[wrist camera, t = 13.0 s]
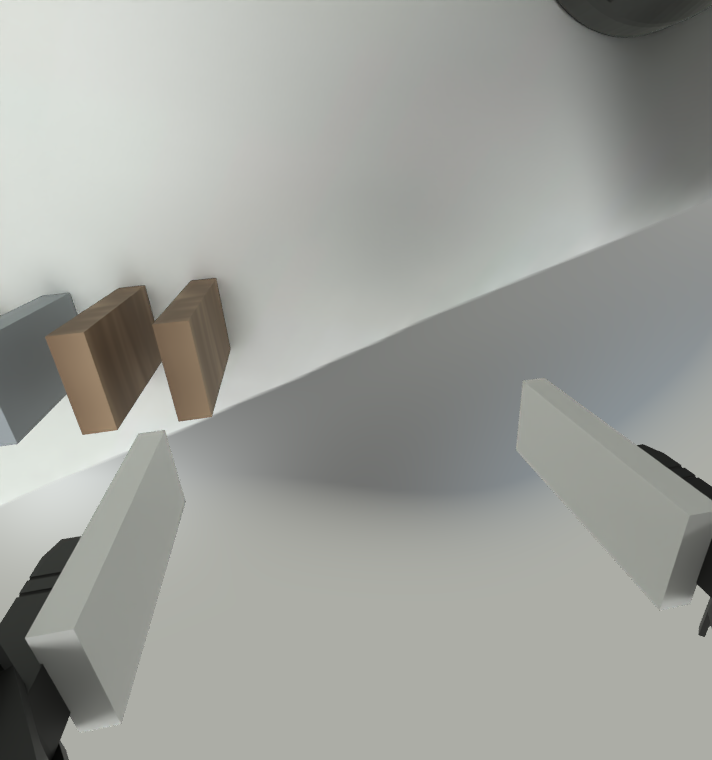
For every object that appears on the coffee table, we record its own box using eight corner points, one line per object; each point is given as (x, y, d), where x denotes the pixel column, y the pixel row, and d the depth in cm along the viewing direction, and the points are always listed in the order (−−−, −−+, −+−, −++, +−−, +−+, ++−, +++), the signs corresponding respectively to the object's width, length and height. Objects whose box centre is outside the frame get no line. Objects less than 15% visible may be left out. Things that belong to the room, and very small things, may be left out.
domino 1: (69, 292, 28) (-29, 344, 19) (94, 365, 30) (17, 443, 21) (42, 295, 28) (-70, 349, 19) (70, 368, 30) (-20, 449, 21)
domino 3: (216, 278, 29) (188, 320, 20) (230, 349, 31) (211, 416, 22) (191, 280, 29) (152, 324, 20) (207, 352, 31) (178, 421, 22)
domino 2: (144, 285, 28) (83, 332, 19) (164, 357, 30) (117, 429, 21) (118, 288, 28) (44, 336, 19) (140, 360, 30) (82, 434, 21)
